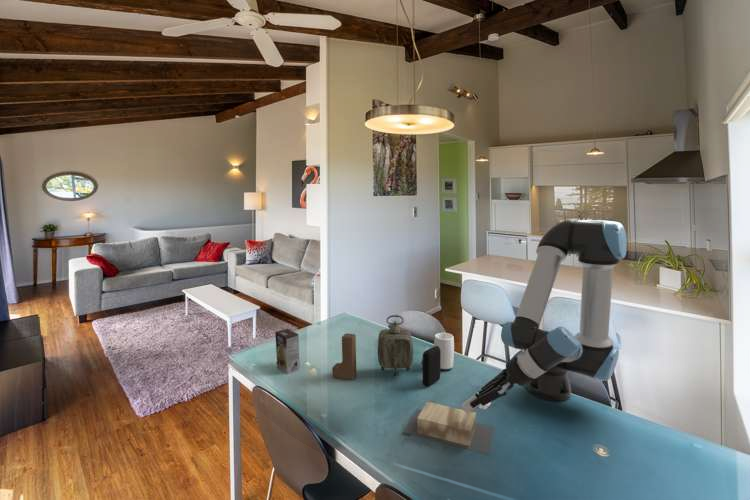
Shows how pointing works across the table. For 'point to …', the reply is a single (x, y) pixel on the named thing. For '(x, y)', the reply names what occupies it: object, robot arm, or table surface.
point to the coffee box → (287, 350)
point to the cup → (445, 349)
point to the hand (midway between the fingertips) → (464, 408)
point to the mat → (478, 442)
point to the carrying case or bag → (431, 365)
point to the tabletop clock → (395, 347)
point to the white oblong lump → (484, 405)
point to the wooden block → (346, 359)
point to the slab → (447, 423)
